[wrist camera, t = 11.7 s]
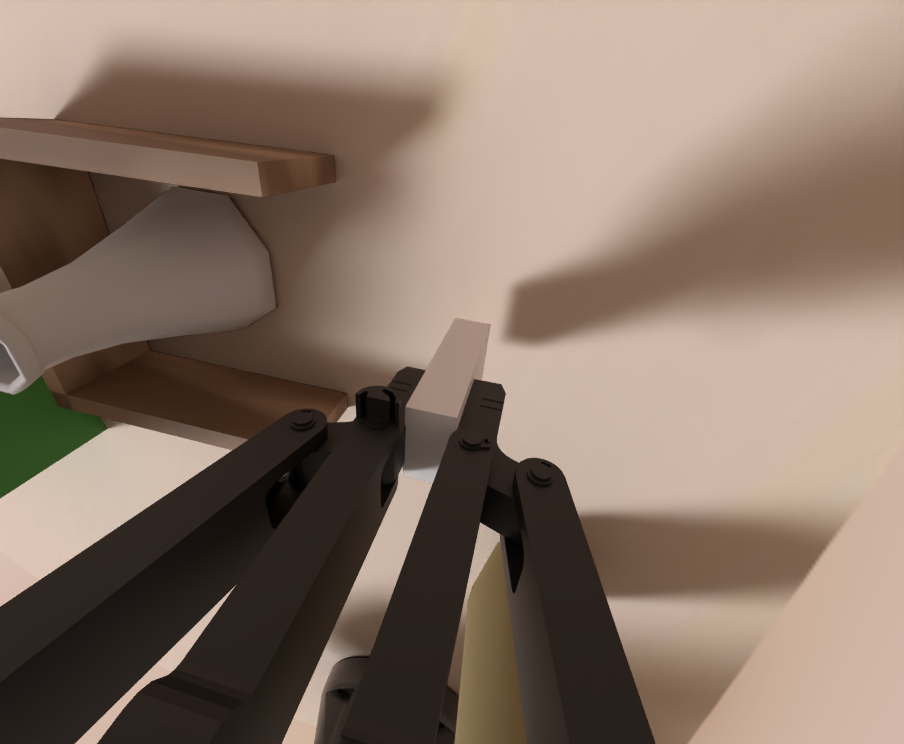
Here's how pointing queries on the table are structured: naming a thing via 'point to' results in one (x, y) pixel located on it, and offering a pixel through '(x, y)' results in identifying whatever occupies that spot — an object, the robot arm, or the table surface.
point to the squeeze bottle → (489, 664)
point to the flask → (140, 287)
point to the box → (83, 226)
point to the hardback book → (38, 433)
